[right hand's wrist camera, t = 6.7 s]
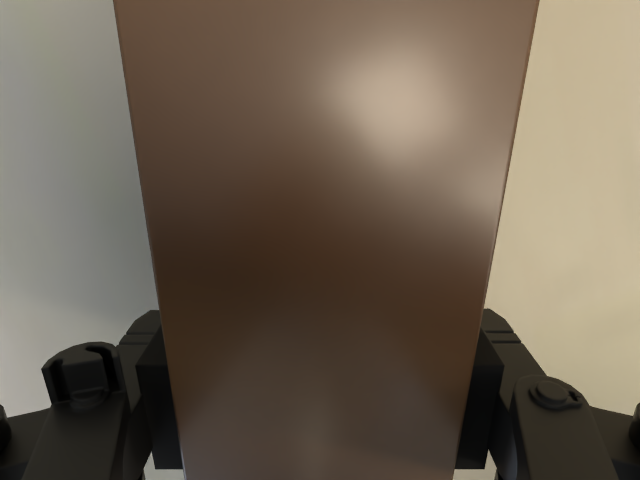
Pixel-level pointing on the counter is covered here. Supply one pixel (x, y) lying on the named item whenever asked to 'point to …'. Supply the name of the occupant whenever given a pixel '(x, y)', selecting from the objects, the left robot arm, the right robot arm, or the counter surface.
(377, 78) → the bar
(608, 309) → the counter surface
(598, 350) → the counter surface
